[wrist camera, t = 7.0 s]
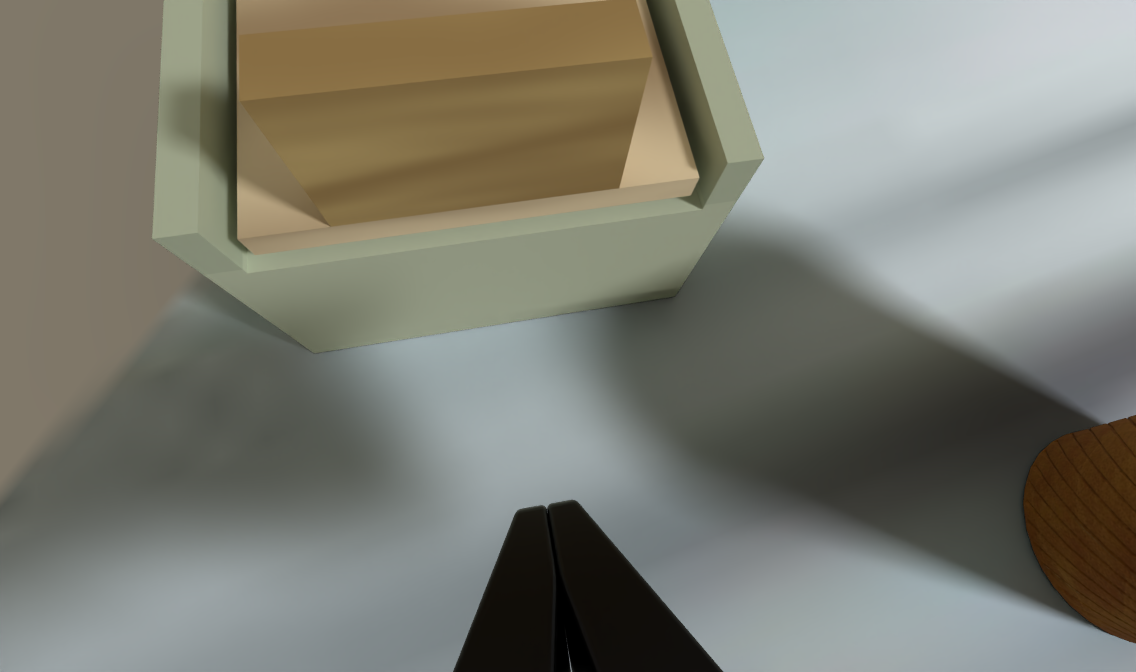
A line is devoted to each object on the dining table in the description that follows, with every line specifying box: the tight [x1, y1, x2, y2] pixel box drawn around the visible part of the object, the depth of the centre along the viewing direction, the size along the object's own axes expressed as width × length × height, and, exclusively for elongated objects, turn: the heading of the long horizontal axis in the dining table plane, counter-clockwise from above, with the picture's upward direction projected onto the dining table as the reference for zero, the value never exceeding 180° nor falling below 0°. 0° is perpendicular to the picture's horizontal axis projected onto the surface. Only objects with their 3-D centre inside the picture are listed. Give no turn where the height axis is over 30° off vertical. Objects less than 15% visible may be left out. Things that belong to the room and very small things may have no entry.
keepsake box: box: [152, 0, 764, 353], centre depth 16 cm, size 10×12×8 cm
